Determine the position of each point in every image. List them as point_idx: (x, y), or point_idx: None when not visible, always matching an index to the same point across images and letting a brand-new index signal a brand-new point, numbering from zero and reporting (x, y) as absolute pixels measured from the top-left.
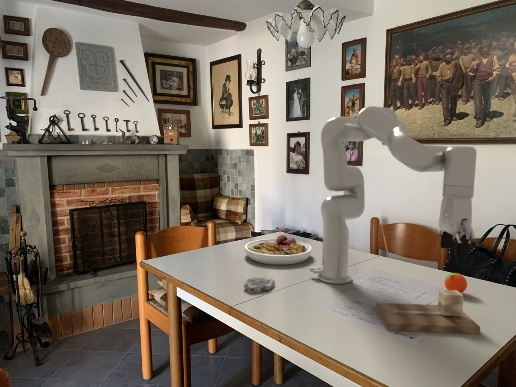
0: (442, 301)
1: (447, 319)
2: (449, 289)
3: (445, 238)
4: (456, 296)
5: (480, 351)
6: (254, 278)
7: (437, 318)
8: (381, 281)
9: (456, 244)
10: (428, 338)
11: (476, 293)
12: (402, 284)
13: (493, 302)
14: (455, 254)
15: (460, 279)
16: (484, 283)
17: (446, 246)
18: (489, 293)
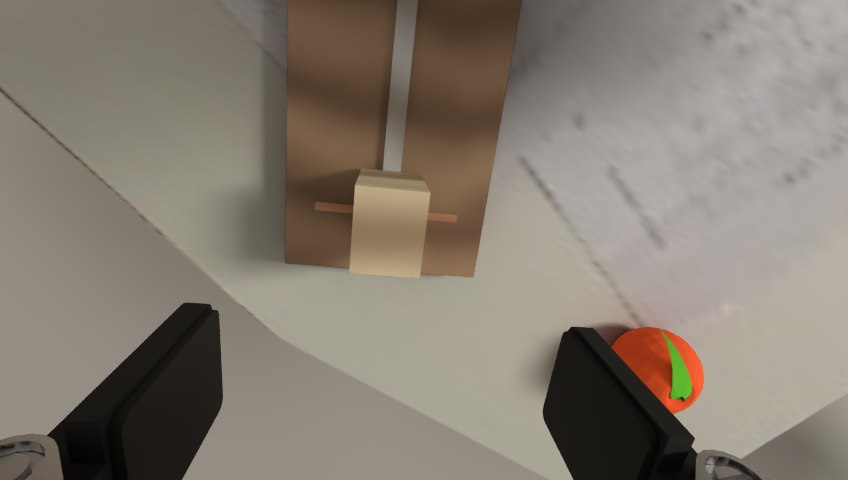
0: (378, 179)
1: (345, 175)
2: (633, 330)
3: (610, 436)
4: (352, 240)
5: (160, 187)
6: None
7: (353, 137)
8: (824, 102)
9: (90, 399)
10: (238, 39)
11: None
12: (760, 186)
13: (532, 421)
14: (186, 313)
15: None
16: None
17: (561, 380)
18: None
